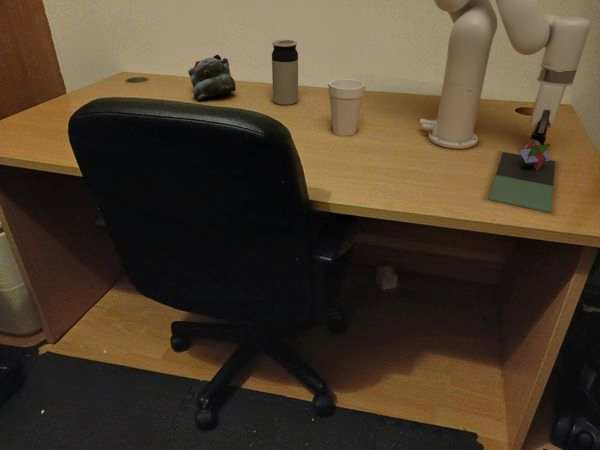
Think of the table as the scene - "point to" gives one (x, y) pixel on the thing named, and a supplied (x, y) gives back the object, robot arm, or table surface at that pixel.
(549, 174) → the desk pad
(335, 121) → the foam cup
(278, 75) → the travel mug
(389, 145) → the table surface
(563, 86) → the robot arm
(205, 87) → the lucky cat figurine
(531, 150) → the geometric puzzle
